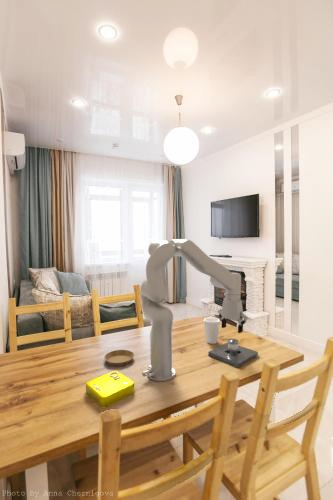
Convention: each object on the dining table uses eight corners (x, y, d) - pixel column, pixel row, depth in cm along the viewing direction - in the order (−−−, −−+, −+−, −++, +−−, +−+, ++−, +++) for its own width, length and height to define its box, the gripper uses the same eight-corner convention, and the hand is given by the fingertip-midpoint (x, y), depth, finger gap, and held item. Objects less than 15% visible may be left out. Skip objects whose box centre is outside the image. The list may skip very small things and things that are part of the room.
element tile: (84, 392, 106) (83, 381, 106) (116, 378, 116) (116, 368, 116) (102, 410, 95) (102, 397, 95) (136, 393, 105) (136, 381, 105)
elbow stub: (234, 359, 133) (234, 343, 132) (225, 355, 137) (225, 340, 136) (240, 355, 137) (240, 340, 136) (231, 352, 140) (231, 337, 140)
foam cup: (221, 344, 150) (221, 322, 150) (204, 344, 151) (204, 322, 150) (218, 338, 160) (218, 317, 159) (202, 338, 160) (202, 317, 159)
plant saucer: (118, 352, 143) (118, 347, 143) (140, 358, 136) (139, 353, 135) (98, 363, 130) (98, 358, 130) (121, 371, 123) (120, 365, 123)
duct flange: (238, 367, 124) (238, 363, 124) (208, 355, 137) (208, 351, 137) (257, 355, 136) (257, 351, 136) (228, 345, 149) (228, 342, 149)
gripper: (214, 294, 139) (213, 327, 139) (244, 300, 126) (243, 336, 127) (223, 293, 144) (222, 324, 144) (252, 298, 131) (251, 332, 132)
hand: (231, 329), depth 136 cm, fingers open, 9 cm apart
